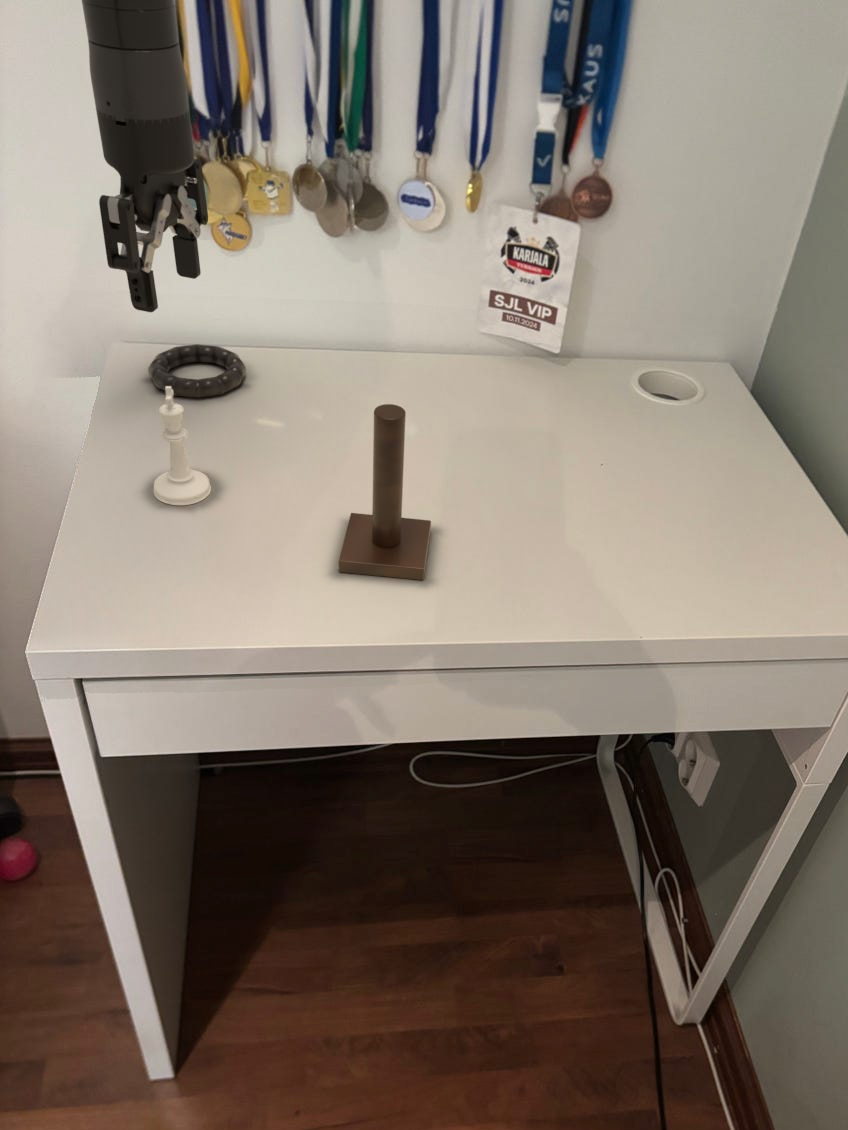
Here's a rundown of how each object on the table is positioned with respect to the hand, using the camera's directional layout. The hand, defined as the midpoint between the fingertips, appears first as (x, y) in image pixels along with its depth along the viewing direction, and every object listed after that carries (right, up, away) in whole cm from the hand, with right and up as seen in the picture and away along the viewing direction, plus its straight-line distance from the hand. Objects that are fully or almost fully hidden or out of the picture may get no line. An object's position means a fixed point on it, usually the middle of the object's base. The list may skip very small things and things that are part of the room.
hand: (168, 292), depth 91 cm
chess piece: (+3, -20, -6) cm, 21 cm away
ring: (0, -5, +9) cm, 10 cm away
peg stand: (+22, -26, -10) cm, 35 cm away
